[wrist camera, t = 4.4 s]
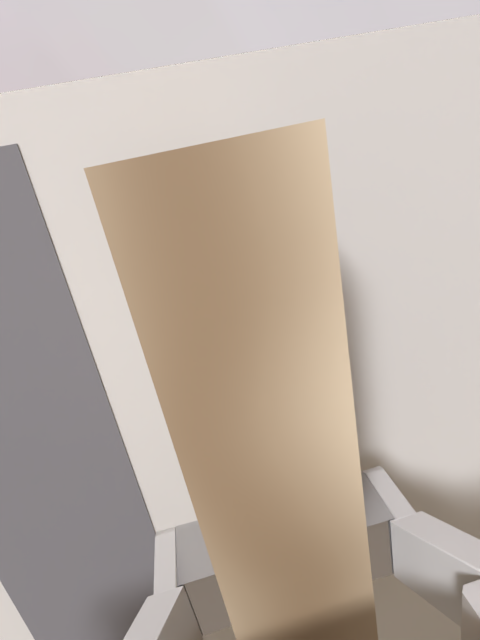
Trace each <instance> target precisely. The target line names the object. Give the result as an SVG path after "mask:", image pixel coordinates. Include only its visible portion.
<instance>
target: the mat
mask: <svg viewBox="0 0 480 640" xmlns="http://www.w3.org/2000/svg"><path fill="white" fill-rule="evenodd" d="M323 118H325V125H326V135H327V144H328V154H329V164H330V174H331V183H332V193H333V203H334V213H335V222H336V232H337V242H338V252H339V261H340V271H341V281H342V291H343V300H344V310H345V320H346V330H347V339H348V349H349V359H350V369H351V378H352V388H353V398H354V408H355V417H356V427H357V437H358V447H359V456H360V466H361V472H362V471H364V470H367V469H370V468H373V467H377V466H381V467H382V468H383V469H384V470H385V471H386V473H387V474H388V475H389V477H390V478H391V479H392V481H393V482H394V483H395V485H396V486H397V487H398V489H399V490H400V491H401V493H402V494H403V495H404V497H405V498H406V499H407V501H408V502H409V503H410V505H411V506H412V507H413V509H414V510H415V511H416V513H417V512H420V511H423V512H425V513H427V514H429V515H431V516H433V517H435V518H437V519H439V520H441V521H443V522H445V523H447V524H449V525H451V526H453V527H455V528H457V529H459V530H461V531H463V532H465V533H467V534H469V535H471V536H473V537H475V538H477V539H479V540H480V14H477V15H471V16H465V17H459V18H453V19H447V20H441V21H435V22H429V23H423V24H417V25H411V26H405V27H398V28H392V29H386V30H380V31H374V32H368V33H362V34H356V35H350V36H344V37H338V38H332V39H326V40H319V41H313V42H307V43H301V44H295V45H289V46H283V47H277V48H271V49H265V50H259V51H253V52H247V53H241V54H234V55H228V56H222V57H216V58H210V59H204V60H198V61H192V62H186V63H180V64H174V65H168V66H162V67H155V68H149V69H143V70H137V71H131V72H125V73H119V74H113V75H107V76H101V77H95V78H89V79H83V80H76V81H70V82H64V83H58V84H52V85H46V86H40V87H34V88H28V89H22V90H16V91H10V92H4V93H0V640H123V639H124V637H125V635H126V633H127V632H128V630H129V628H130V626H131V625H132V623H133V621H134V619H135V618H136V616H137V614H138V612H139V611H140V609H141V607H142V605H143V604H144V602H145V600H146V598H147V597H148V596H151V595H153V594H154V554H155V536H156V533H157V532H158V531H161V530H165V529H169V528H172V527H176V526H178V525H182V524H186V523H190V522H193V521H197V517H196V514H195V511H194V508H193V505H192V502H191V498H190V495H189V492H188V489H187V486H186V483H185V480H184V477H183V474H182V471H181V468H180V465H179V461H178V458H177V455H176V452H175V449H174V446H173V443H172V440H171V437H170V434H169V431H168V427H167V424H166V421H165V418H164V415H163V412H162V409H161V406H160V403H159V400H158V397H157V394H156V390H155V387H154V384H153V381H152V378H151V375H150V372H149V369H148V366H147V363H146V360H145V356H144V353H143V350H142V347H141V344H140V341H139V338H138V335H137V332H136V329H135V326H134V322H133V319H132V316H131V313H130V310H129V307H128V304H127V301H126V298H125V295H124V292H123V289H122V285H121V282H120V279H119V276H118V273H117V270H116V267H115V264H114V261H113V258H112V255H111V251H110V248H109V245H108V242H107V239H106V236H105V233H104V230H103V227H102V224H101V221H100V218H99V214H98V211H97V208H96V205H95V202H94V199H93V196H92V193H91V190H90V187H89V184H88V180H87V177H86V174H85V171H84V168H87V167H92V166H97V165H102V164H107V163H112V162H116V161H121V160H126V159H131V158H136V157H140V156H145V155H150V154H155V153H160V152H164V151H169V150H174V149H179V148H184V147H188V146H193V145H198V144H203V143H208V142H213V141H217V140H222V139H227V138H232V137H237V136H241V135H246V134H251V133H256V132H261V131H265V130H270V129H275V128H280V127H285V126H290V125H294V124H299V123H304V122H309V121H314V120H318V119H323ZM372 583H373V593H374V603H375V612H376V622H377V632H378V640H461V627H460V626H459V625H457V624H456V623H455V622H453V621H452V620H451V619H449V618H448V617H447V616H445V615H444V614H443V613H442V612H440V611H439V610H438V609H436V608H435V607H434V606H432V605H431V604H430V603H428V602H427V601H426V600H425V599H423V598H422V597H421V596H419V595H418V594H417V593H415V592H414V591H413V590H411V589H410V588H409V587H408V586H406V585H405V584H404V583H402V582H401V581H400V580H398V579H397V578H396V577H394V574H392V575H389V576H385V577H382V578H379V579H375V580H372ZM202 637H203V640H236V637H235V634H234V631H233V628H232V626H230V627H227V628H225V629H222V630H219V631H216V632H213V633H211V634H208V635H205V636H202Z"/></svg>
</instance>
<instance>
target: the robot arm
mask: <svg viewBox="0 0 480 640" xmlns="http://www.w3.org/2000/svg"><path fill="white" fill-rule="evenodd" d="M361 476H362V486H363V495H364V505H365V515H366V525H367V534H368V544H369V554H370V564H371V573H372V580H375V579H379V578H382V577H385V576H389V575H392V574H394V577H396V578H397V579H398V580H400V581H401V582H402V583H404V584H405V585H406V586H408V587H409V588H410V589H411V590H413V591H414V592H415V593H417V594H418V595H419V596H421V597H422V598H423V599H425V600H426V601H427V602H428V603H430V604H431V605H432V606H434V607H435V608H436V609H438V610H439V611H440V612H442V613H443V614H444V615H445V616H447V617H448V618H449V619H451V620H452V621H453V622H455V623H456V624H457V625H459V626H460V627H461V640H480V540H479V539H477V538H475V537H473V536H471V535H469V534H467V533H465V532H463V531H461V530H459V529H457V528H455V527H453V526H451V525H449V524H447V523H445V522H443V521H441V520H439V519H437V518H435V517H433V516H431V515H429V514H427V513H425V512H423V511H420V512H417V513H416V511H415V510H414V509H413V507H412V506H411V505H410V503H409V502H408V501H407V499H406V498H405V497H404V495H403V494H402V493H401V491H400V490H399V489H398V487H397V486H396V485H395V483H394V482H393V481H392V479H391V478H390V477H389V475H388V474H387V473H386V471H385V470H384V469H383V468H382V467H381V466H377V467H373V468H370V469H367V470H364V471H362V472H361ZM230 626H232V625H231V622H230V619H229V616H228V613H227V610H226V607H225V603H224V600H223V597H222V594H221V591H220V588H219V585H218V582H217V579H216V576H215V573H214V570H213V566H212V563H211V560H210V557H209V554H208V551H207V548H206V545H205V542H204V539H203V536H202V532H201V529H200V526H199V523H198V520H197V521H193V522H190V523H186V524H182V525H178V526H176V527H172V528H169V529H165V530H161V531H158V532H157V533H156V536H155V554H154V594H153V595H151V596H148V597H147V598H146V600H145V602H144V604H143V605H142V607H141V609H140V611H139V612H138V614H137V616H136V618H135V619H134V621H133V623H132V625H131V626H130V628H129V630H128V632H127V633H126V635H125V637H124V639H123V640H203V637H202V636H205V635H208V634H211V633H213V632H216V631H219V630H222V629H225V628H227V627H230Z"/></svg>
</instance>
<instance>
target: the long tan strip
mask: <svg viewBox="0 0 480 640" xmlns="http://www.w3.org/2000/svg"><path fill="white" fill-rule="evenodd" d="M84 171H85V174H86V177H87V180H88V184H89V187H90V190H91V193H92V196H93V199H94V202H95V205H96V208H97V211H98V214H99V218H100V221H101V224H102V227H103V230H104V233H105V236H106V239H107V242H108V245H109V248H110V251H111V255H112V258H113V261H114V264H115V267H116V270H117V273H118V276H119V279H120V282H121V285H122V289H123V292H124V295H125V298H126V301H127V304H128V307H129V310H130V313H131V316H132V319H133V322H134V326H135V329H136V332H137V335H138V338H139V341H140V344H141V347H142V350H143V353H144V356H145V360H146V363H147V366H148V369H149V372H150V375H151V378H152V381H153V384H154V387H155V390H156V394H157V397H158V400H159V403H160V406H161V409H162V412H163V415H164V418H165V421H166V424H167V427H168V431H169V434H170V437H171V440H172V443H173V446H174V449H175V452H176V455H177V458H178V461H179V465H180V468H181V471H182V474H183V477H184V480H185V483H186V486H187V489H188V492H189V495H190V498H191V502H192V505H193V508H194V511H195V514H196V517H197V520H198V523H199V526H200V529H201V532H202V536H203V539H204V542H205V545H206V548H207V551H208V554H209V557H210V560H211V563H212V566H213V570H214V573H215V576H216V579H217V582H218V585H219V588H220V591H221V594H222V597H223V600H224V603H225V607H226V610H227V613H228V616H229V619H230V622H231V625H232V628H233V631H234V634H235V637H236V640H378V632H377V622H376V612H375V603H374V593H373V583H372V573H371V564H370V554H369V544H368V534H367V525H366V515H365V505H364V495H363V486H362V476H361V466H360V456H359V447H358V437H357V427H356V417H355V408H354V398H353V388H352V378H351V369H350V359H349V349H348V339H347V330H346V320H345V310H344V300H343V291H342V281H341V271H340V261H339V252H338V242H337V232H336V222H335V213H334V203H333V193H332V183H331V174H330V164H329V154H328V144H327V135H326V125H325V118H323V119H318V120H314V121H309V122H304V123H299V124H294V125H290V126H285V127H280V128H275V129H270V130H265V131H261V132H256V133H251V134H246V135H241V136H237V137H232V138H227V139H222V140H217V141H213V142H208V143H203V144H198V145H193V146H188V147H184V148H179V149H174V150H169V151H164V152H160V153H155V154H150V155H145V156H140V157H136V158H131V159H126V160H121V161H116V162H112V163H107V164H102V165H97V166H92V167H87V168H84Z"/></svg>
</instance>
